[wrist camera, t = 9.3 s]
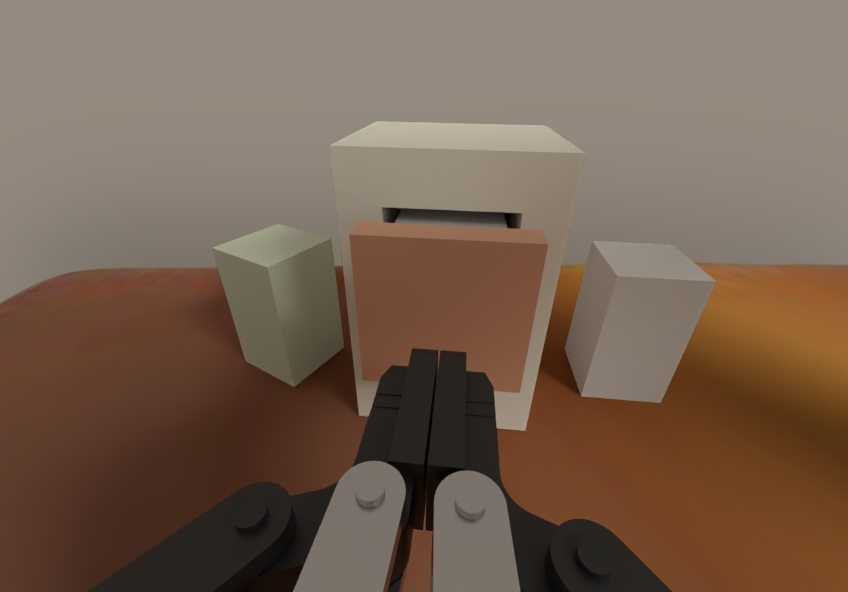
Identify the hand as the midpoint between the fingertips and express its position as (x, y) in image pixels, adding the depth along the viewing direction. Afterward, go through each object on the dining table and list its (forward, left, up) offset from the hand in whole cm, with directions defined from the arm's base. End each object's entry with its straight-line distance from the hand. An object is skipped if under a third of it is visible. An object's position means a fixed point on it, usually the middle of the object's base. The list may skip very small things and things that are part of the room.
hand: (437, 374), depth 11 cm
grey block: (-8, -13, -9) cm, 18 cm away
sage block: (+12, -9, -9) cm, 17 cm away
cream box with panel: (+2, -10, -9) cm, 14 cm away
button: (+1, -7, -3) cm, 8 cm away
